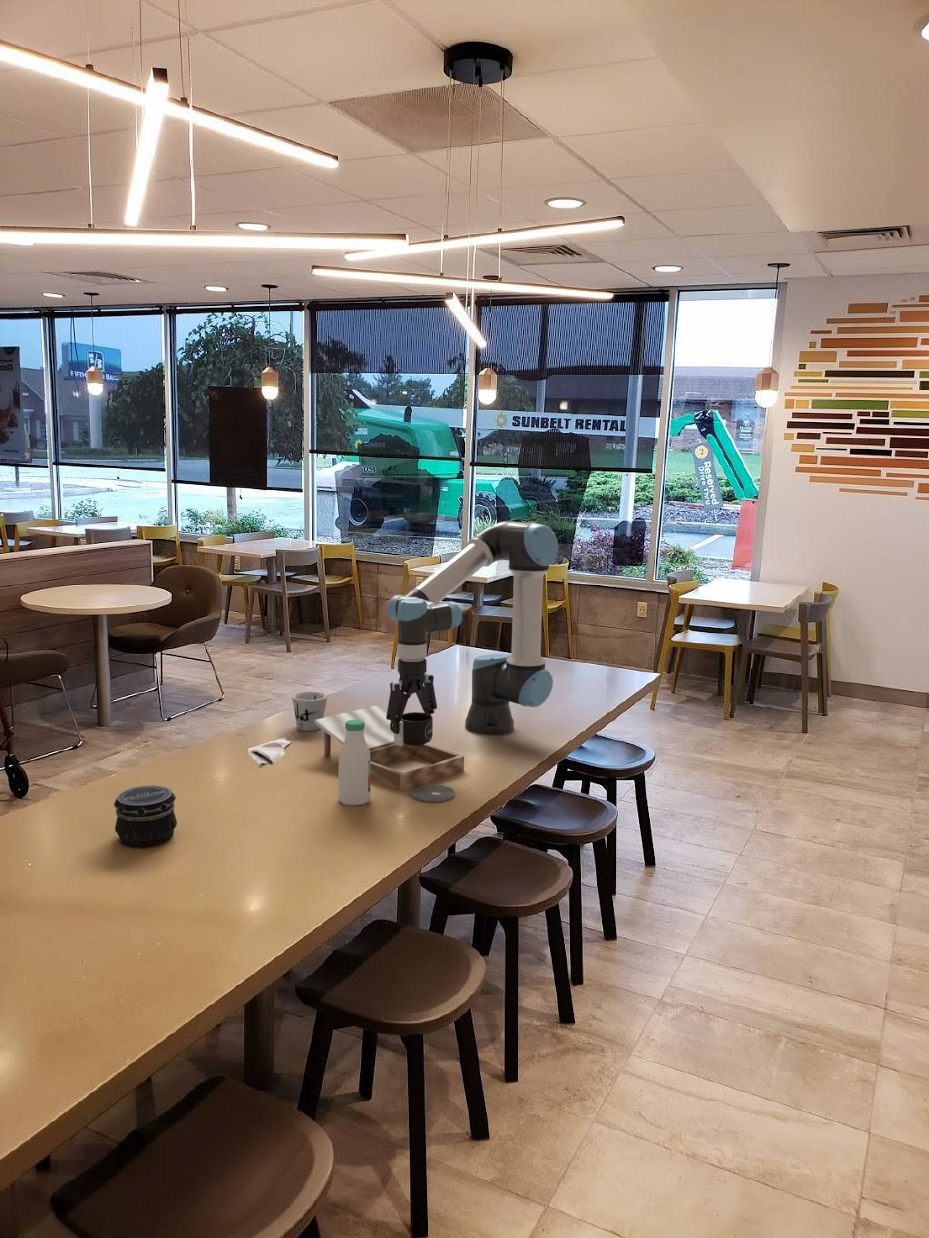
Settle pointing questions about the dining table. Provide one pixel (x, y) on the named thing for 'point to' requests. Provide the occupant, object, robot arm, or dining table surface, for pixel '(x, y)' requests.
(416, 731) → the mug
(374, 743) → the box
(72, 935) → the dining table surface
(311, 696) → the mug
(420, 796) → the coaster
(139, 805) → the container
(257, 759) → the cloth
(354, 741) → the milk bottle
